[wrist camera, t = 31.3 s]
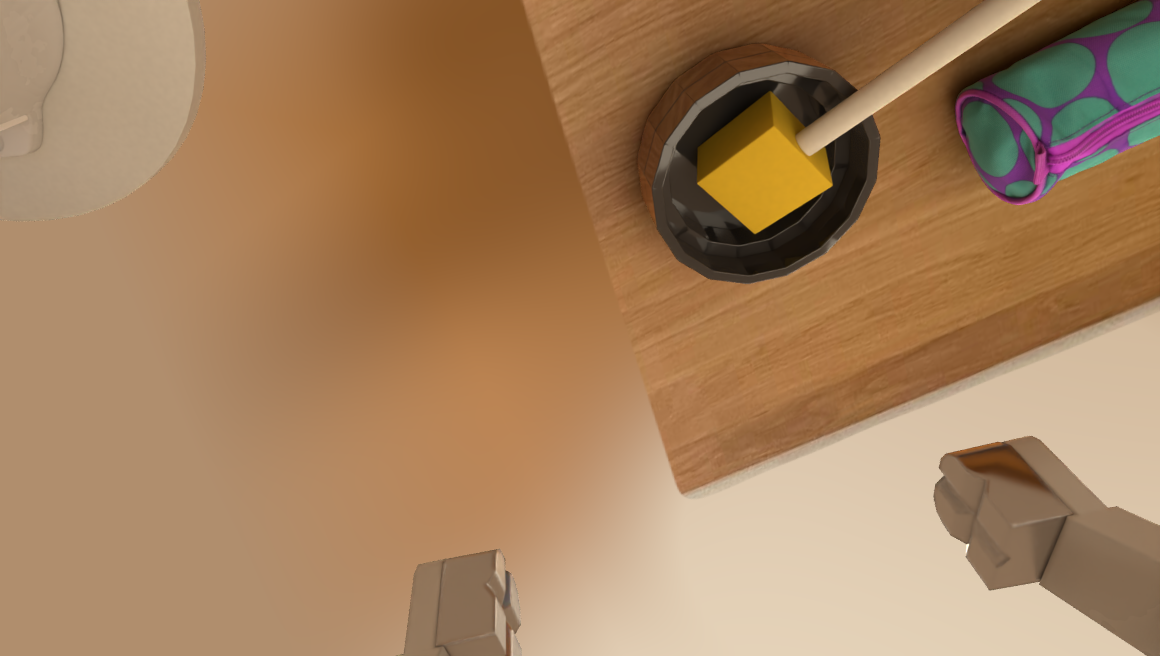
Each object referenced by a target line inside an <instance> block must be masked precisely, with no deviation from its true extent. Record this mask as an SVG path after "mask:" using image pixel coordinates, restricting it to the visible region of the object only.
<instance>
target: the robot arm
mask: <svg viewBox="0 0 1160 656" xmlns="http://www.w3.org/2000/svg"><path fill="white" fill-rule="evenodd" d="M63 49H64V31H63V22H62V16H61V11H60V7H59V3H58V0H0V157H19V156H24V155H27V154H29V153H32V152H35V151H37V150H38V149H39V148H40V146H41V144H42V140H43V117H42V105H43V102H44V99H45V97H46V95H47V93H48V91H49V90H50V88H51V86H52V84H53V83H54V81H55V79H56V77H57V74H58V72H59V69H60V66H61V62H62V57H63ZM939 469H940V470H941V472H942V473H943V474H944V476H943V477H942V478H941V479H940V480H939V481H938V482H937V483H936V484H935V490H934V501H935V506H936V510H937V513H938V515H939V517H940V519H941V521H942V523H943V525H944V526H945V528H946V529H947V531H948V532H949V533H950V535H951V536H953V537H955V538H956V539H958V540H960V541H962V542H964V543H966V544H967V549H966V558H967V559H968V561H969V562H970V563H971V565H972V566H973V568H974V569H975V571H976V572H977V573H978V575H979V576H980V578H981V579H982V581H983V582H984V583H985V585H986V586H987V588H988V589H989V590H995V589H1001V588H1006V587H1012V586H1018V585H1023V584H1029V583H1035V582H1040V583H1039V585H1041V586H1043V587H1044V588H1045V589H1047V590H1048V591H1050V592H1051V593H1053V594H1054V595H1056V596H1057V597H1059V598H1061V599H1062V600H1064V601H1065V602H1067V603H1068V604H1070V605H1071V606H1073V607H1074V608H1076V609H1077V610H1079V611H1080V612H1082V613H1083V614H1085V615H1086V616H1088V617H1089V618H1091V619H1092V620H1094V621H1095V622H1097V623H1098V624H1100V625H1101V626H1103V627H1104V628H1106V629H1107V630H1109V631H1110V632H1112V633H1113V634H1115V635H1116V636H1118V637H1119V638H1121V639H1122V640H1124V641H1126V642H1127V643H1129V644H1130V645H1132V646H1133V647H1135V648H1136V649H1138V650H1139V651H1141V652H1142V653H1144V654H1145V655H1147V656H1160V525H1157V524H1155V523H1153V522H1151V521H1148V520H1146V519H1144V518H1141V517H1139V516H1137V515H1135V514H1133V513H1130V512H1128V511H1126V510H1124V509H1121V508H1119V507H1117V506H1116V507H1110V508H1107V507H1106V506H1105V505H1104V504H1103V503H1102V502H1101V501H1100V500H1099V499H1098V498H1097V497H1096V496H1095V495H1094V494H1093V493H1092V492H1091V491H1090V490H1089V489H1088V488H1087V487H1086V486H1085V485H1084V484H1083V483H1082V481H1081V480H1079V479H1078V477H1077V476H1076V475H1075V474H1073V473H1072V472H1071V470H1070V469H1069V468H1067V466H1066V465H1064V463H1063V462H1062V461H1061V460H1059V459H1058V457H1057V456H1055V454H1053V452H1052V451H1050V450H1049V448H1047V446H1046V445H1044V443H1042V441H1040V440H1039V439H1037V438H1035V437H1033V436H1027V437H1022V438H1017V439H1013V440H1009V441H1004V442H995V443H991V444H987V445H982V446H978V447H973V448H969V449H965V450H960V451H956V452H952V453H947V454H945V455H944V456H943V457H942V458H941V461H940V465H939ZM520 625H521V620H520V606H519V599H518V592H517V588H516V584H515V581H514V578H513V576H512V574H511V573H510V572H508V571H506V570H505V558H504V556H503V554H502V552H501V550H500V549H496V550H491V551H485V552H480V553H476V554H470V555H464V556H459V557H454V558H449V559H443V560H438V561H433V562H428V563H424V564H419V565H418V566H417V569H416V571H415V573H414V578H413V587H412V594H411V602H410V609H409V617H408V625H407V633H406V641H405V648H404V654H401V655H397V656H522V654H521V647H520V645H519V643H518V640H517V638H516V636H515V633H516V632H517V630H518V628H519V626H520Z"/></svg>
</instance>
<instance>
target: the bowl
mask: <svg viewBox="0 0 1160 656" xmlns="http://www.w3.org/2000/svg"><path fill="white" fill-rule="evenodd" d="M769 91H771V92H772V93H773V94H774V95H775V96H776V97H777V98H778V99H779V100H780V101H781V102H782V103H783V104H784V105H785V106H786V108H787V109H788V110H789V111H790V112H791V113H792V114H793V115H794V116H795V117H796V118H797V119H798V120H799V121H800V122H801V123H802V124H803V125H804V126H805V127H807V126H809V125H810V124H811V123H813V122H814V121H816V120H817V119H818V118H820V117H821V116H823V115H824V114H825V113H827V112H828V111H830V110H831V109H833V108H834V107H835V106H837V105H838V104H840V103H841V102H842V101H844V100H845V99H847V98H848V97H849V96H851V95H852V94H854V93H855V92H856V91H858V90H857V89H856V88H855V87H853V86H852V85H851V84H850V83H849V82H848V81H846V80H845V79H844V78H843V77H842V76H841V75H839V74H838V73H837V72H836V71H835V70H833V69H831V68H829V67H827V66H826V65H824V64H822V63H820V62H818V61H816V60H814V59H812V58H811V57H809V56H807V55H805V54H803V53H801V52H799V51H796V50H791V49H786V48H782V47H777V46H772V45H768V44H763V43H754V44H750V45H745V46H741V47H737V48H732V49H728V50H724V51H719V52H715V53H713V54H711V55H710V56H708V57H707V58H705V59H704V60H702V61H701V62H700V63H698V64H697V65H695V66H694V67H692V68H691V69H689V70H688V71H687V72H685V73H684V74H682V75H681V76H679V77H678V78H676V79H675V81H673V83H672V84H671V85H670V87H669V88H668V90H667V91H666V93H665V94H664V95H663V97H662V98H661V100H660V101H659V103H658V104H657V105H656V107H655V108H654V110H653V111H652V112H651V114H650V115H649V117H648V118H647V121H646V125H645V129H644V133H643V137H642V141H641V145H640V149H639V152H638V156H637V165H638V172H639V179H640V186H641V192H642V198H643V200H644V202H645V205H646V207H647V209H648V211H649V213H650V215H651V217H652V220H653V222H654V224H655V226H656V228H657V230H658V232H659V233H660V235H661V236H662V238H663V239H664V241H665V242H666V244H667V245H668V247H669V248H670V250H671V251H672V253H673V254H674V256H675V257H676V259H677V260H678V261H679V262H681V263H683V264H684V265H686V266H688V267H690V268H691V269H693V270H695V271H696V272H698V273H700V274H701V275H703V276H705V277H706V278H708V279H712V280H719V281H727V282H735V283H743V284H751V283H756V282H760V281H765V280H769V279H774V278H778V277H783V276H787V275H789V274H791V273H793V272H794V271H796V270H798V269H800V268H801V267H803V266H805V265H807V264H808V263H810V262H812V261H814V260H815V259H817V258H819V257H821V256H822V255H824V254H825V253H827V252H828V251H829V250H830V249H831V248H832V247H833V245H834V244H835V243H836V242H837V241H838V240H839V239H840V238H841V237H842V236H843V235H844V234H845V233H846V232H847V231H848V230H849V229H850V227H851V226H852V225H853V224H854V223H855V222H856V220H858V218H859V216H860V214H861V212H862V210H863V208H864V206H865V203H866V201H867V199H868V197H869V195H870V193H871V191H872V189H873V187H874V185H875V183H876V179H877V170H878V158H879V147H880V134H879V132H878V129H877V126H876V123H875V121H874V118H873V115H870V116H869V117H867V118H866V119H864V120H863V121H862V122H860V123H859V124H857V125H856V126H854V127H853V128H851V129H850V130H848V131H847V132H845V133H844V134H842V135H841V136H839V137H838V138H836V139H835V140H833V141H832V142H830V143H829V144H827V145H826V146H824V147H825V148H826V153H827V158H828V163H829V169H830V174H831V179H832V184H833V186H832V187H830V188H828V189H827V190H825V191H824V192H822V193H820V194H819V195H817V196H816V197H814V198H812V199H811V200H809V201H808V202H806V203H804V204H803V205H801V206H800V207H798V208H796V209H795V210H793V211H792V212H790V213H788V214H787V215H785V216H784V217H782V218H780V219H779V220H777V221H776V222H774V223H772V224H771V225H769V226H768V227H766V228H764V229H763V230H761V231H760V232H758V233H756V234H754V233H753V232H752V231H751V230H749V229H748V228H747V227H746V226H745V225H744V224H743V223H741V222H740V221H739V220H738V219H737V218H736V217H735V216H733V215H732V214H731V213H730V212H729V211H728V210H727V209H725V208H724V207H723V206H722V205H721V204H720V203H719V202H717V201H716V200H715V199H714V198H713V197H712V196H711V195H709V194H708V193H707V192H706V191H705V190H704V189H703V188H701V187H700V186H699V185H698V184H697V154H698V147H699V146H700V145H702V144H703V143H704V142H705V141H707V140H708V139H709V138H711V137H712V136H713V135H714V134H716V133H717V132H718V131H719V130H721V129H722V128H723V127H725V126H726V125H727V124H728V123H730V122H731V121H732V120H733V119H735V118H736V117H737V116H738V115H740V114H741V113H742V112H744V111H745V110H746V109H747V108H749V107H750V106H751V105H752V104H754V103H755V102H756V101H757V100H759V99H760V98H761V97H763V96H764V95H765V94H766V93H768V92H769Z"/></svg>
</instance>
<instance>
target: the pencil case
mask: <svg viewBox="0 0 1160 656" xmlns="http://www.w3.org/2000/svg"><path fill="white" fill-rule="evenodd" d="M955 117H956V123H957V127H958V131H959V134H960V136H961V138H962V141H963V143H964V144H965V145H966V148H967V151H968V153H969V156H970V158H971V160H972V163H973V165H974V167H975V169H976V171H977V172H978V174H979V176H980V178H981V179H982V181H983V182H984V183H985V185H986V186H987V187H988V188H989V189H990V191H991V192H992V193H994V194H995V195H996V196H997V197H999V198H1000V199H1001V200H1003V201H1006V202H1008V203H1011V204H1015V205H1021V204H1026V203H1031V202H1034V201H1037V200H1039V199H1040V198H1042V197H1043V196H1044V195H1046V194H1047V193H1048V192H1049V191H1050V190H1051V189H1052V188H1053V187H1054V185H1055V184H1056V183H1057V182H1058V181H1060V180H1062V179H1065V178H1067V177H1069V176H1071V175H1074V174H1076V173H1078V172H1080V171H1083V170H1086V169H1088V168H1091V167H1093V166H1096V165H1098V164H1100V163H1102V162H1104V161H1106V160H1108V159H1110V158H1112V157H1113V156H1115V155H1117V154H1119V153H1121V152H1123V151H1125V150H1127V149H1129V148H1132V147H1134V146H1137V145H1139V144H1141V143H1143V142H1145V141H1147V140H1150V139H1152V138H1154V137H1157V136H1159V135H1160V0H1140V1H1138V2H1135V3H1133V4H1131V5H1129V6H1126V7H1124V8H1122V9H1120V10H1118V11H1116V12H1113V13H1111V14H1109V15H1107V16H1105V17H1103V18H1100V19H1098V20H1096V21H1094V22H1092V23H1090V24H1089V25H1087V26H1085V27H1083V28H1082V29H1080V30H1078V31H1076V32H1074V33H1072V34H1070V35H1068V36H1066V37H1064V38H1062V39H1060V40H1058V41H1056V42H1054V43H1052V44H1050V45H1048V46H1046V47H1044V48H1042V49H1041V50H1039V51H1038V52H1036V53H1034V54H1031V55H1029V56H1028V57H1026V58H1024V59H1022V60H1020V61H1018V62H1015V63H1014V64H1013V65H1012V66H1010V67H1009V68H1008V69H1006V70H1003V71H1000V72H997V73H995V74H992V75H990V76H988V77H986V78H983V79H980V80H979V81H978V82H976V83H974V84H973V85H971V86H968V87H966V88H965V89H963V90H962V91H961V92H960V93H959V95H958V97H957V99H956V104H955Z"/></svg>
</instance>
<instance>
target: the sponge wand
mask: <svg viewBox="0 0 1160 656" xmlns="http://www.w3.org/2000/svg"><path fill="white" fill-rule="evenodd" d="M1039 1H1041V0H984V1H983V2H981V3H980V4H978V5H977V6H976V7H974V8H973V9H971V10H970V11H969V12H967V13H966V14H964V15H963V16H962V17H960V18H959V19H957V20H956V21H955V22H953V23H952V24H950V25H949V26H948V27H946V28H945V29H943V30H942V31H941V32H939V33H938V34H936V35H935V36H934V37H932V38H931V39H929V40H928V41H927V42H925V43H924V44H922V45H921V46H920V47H918V48H917V49H915V50H914V51H913V52H911V53H910V54H908V55H907V56H906V57H904V58H903V59H901V60H900V61H898V62H897V63H896V64H894V65H893V66H891V67H890V68H889V69H887V70H886V71H884V72H883V73H882V74H880V75H879V76H877V77H876V78H875V79H873V80H872V81H870V82H869V83H868V84H866V85H865V86H863V87H862V88H861V89H859V90H858V91H856V92H855V93H854V94H852V95H851V96H849V97H848V98H847V99H845V100H844V101H842V102H841V103H840V104H838V105H837V106H835V107H834V108H833V109H831V110H830V111H828V112H827V113H825V114H824V115H823V116H821V117H820V118H818V119H817V120H816V121H814V122H813V123H811V124H810V125H809V126H807V127H805V126H804V125H803V124H802V123H801V122H800V121H799V120H798V119H797V118H796V117H795V116H794V115H793V114H792V113H791V112H790V111H789V110H788V109H787V108H786V106H785V105H784V104H783V103H782V102H781V101H780V100H779V99H778V98H777V97H776V96H775V95H774V94H773V93H772V92H771V91H769V92H768V93H766V94H765V95H764V96H763V97H761V98H760V99H759V100H757V101H756V102H755V103H754V104H752V105H751V106H750V107H749V108H747V109H746V110H745V111H744V112H742V113H741V114H740V115H738V116H737V117H736V118H735V119H733V120H732V121H731V122H730V123H728V124H727V125H726V126H725V127H723V128H722V129H721V130H719V131H718V132H717V133H716V134H714V135H713V136H712V137H711V138H709V139H708V140H707V141H705V142H704V143H703V144H702V145H700V146H699V147H698V154H697V184H698V185H699V186H700V187H701V188H703V189H704V190H705V191H706V192H707V193H708V194H709V195H711V196H712V197H713V198H714V199H715V200H716V201H717V202H719V203H720V204H721V205H722V206H723V207H724V208H725V209H727V210H728V211H729V212H730V213H731V214H732V215H733V216H735V217H736V218H737V219H738V220H739V221H740V222H741V223H743V224H744V225H745V226H746V227H747V228H748V229H749V230H751V231H752V232H753V233H754V234H756V233H758V232H760V231H761V230H763V229H764V228H766V227H768V226H769V225H771V224H772V223H774V222H776V221H777V220H779V219H780V218H782V217H784V216H785V215H787V214H788V213H790V212H792V211H793V210H795V209H796V208H798V207H800V206H801V205H803V204H804V203H806V202H808V201H809V200H811V199H812V198H814V197H816V196H817V195H819V194H820V193H822V192H824V191H825V190H827V189H828V188H830V187H832V186H833V184H832V179H831V174H830V169H829V163H828V158H827V153H826V148H825V147H824V146H826V145H827V144H829V143H830V142H832V141H833V140H835V139H836V138H838V137H839V136H841V135H842V134H844V133H845V132H847V131H848V130H850V129H851V128H853V127H854V126H856V125H857V124H859V123H860V122H862V121H863V120H864V119H866V118H867V117H869V116H870V115H872V114H873V113H875V112H876V111H878V110H879V109H881V108H882V107H884V106H885V105H887V104H888V103H890V102H891V101H893V100H894V99H896V98H897V97H899V96H900V95H901V94H903V93H904V92H906V91H907V90H909V89H910V88H912V87H913V86H915V85H916V84H918V83H919V82H921V81H922V80H924V79H925V78H927V77H928V76H930V75H931V74H933V73H934V72H936V71H937V70H938V69H940V68H941V67H943V66H944V65H946V64H947V63H949V62H950V61H952V60H953V59H955V58H956V57H958V56H959V55H961V54H962V53H964V52H965V51H967V50H968V49H970V48H971V47H973V46H974V45H976V44H977V43H978V42H980V41H981V40H983V39H984V38H986V37H987V36H989V35H990V34H992V33H993V32H995V31H996V30H998V29H999V28H1001V27H1002V26H1004V25H1005V24H1007V23H1008V22H1010V21H1011V20H1013V19H1014V18H1015V17H1017V16H1018V15H1020V14H1021V13H1023V12H1024V11H1026V10H1027V9H1029V8H1030V7H1032V6H1033V5H1035V4H1036V3H1038V2H1039Z"/></svg>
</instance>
